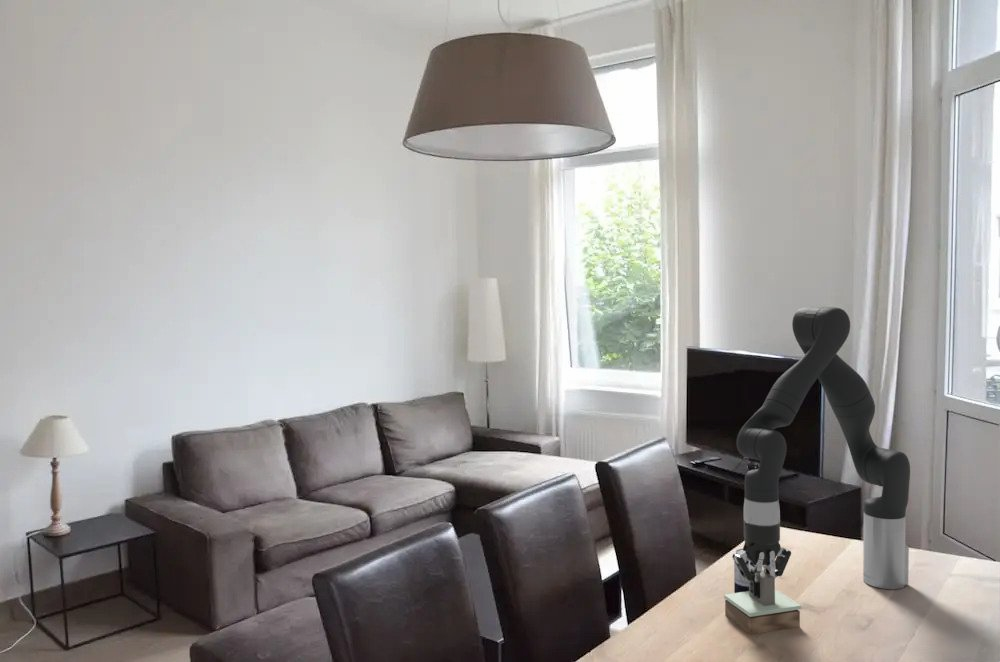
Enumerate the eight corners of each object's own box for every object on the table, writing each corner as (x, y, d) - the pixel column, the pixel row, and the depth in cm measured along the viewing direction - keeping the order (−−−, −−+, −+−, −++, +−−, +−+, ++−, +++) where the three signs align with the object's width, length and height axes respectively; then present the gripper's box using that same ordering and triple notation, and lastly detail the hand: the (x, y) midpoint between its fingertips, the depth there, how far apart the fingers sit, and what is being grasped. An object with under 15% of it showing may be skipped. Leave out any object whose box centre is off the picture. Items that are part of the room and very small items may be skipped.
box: (772, 610, 179) (772, 593, 178) (799, 629, 169) (799, 611, 169) (725, 617, 176) (725, 600, 175) (750, 636, 166) (750, 618, 166)
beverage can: (761, 608, 180) (761, 556, 179) (735, 606, 181) (735, 555, 180) (758, 598, 186) (758, 548, 185) (733, 596, 187) (733, 547, 186)
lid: (772, 591, 179) (772, 561, 178) (801, 609, 169) (801, 578, 168) (724, 598, 176) (723, 568, 175) (750, 617, 166) (749, 585, 165)
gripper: (779, 510, 176) (779, 585, 177) (723, 517, 173) (724, 593, 174) (800, 520, 169) (800, 598, 170) (742, 527, 165) (743, 607, 167)
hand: (762, 595), depth 172 cm, fingers closed on lid, 2 cm apart
